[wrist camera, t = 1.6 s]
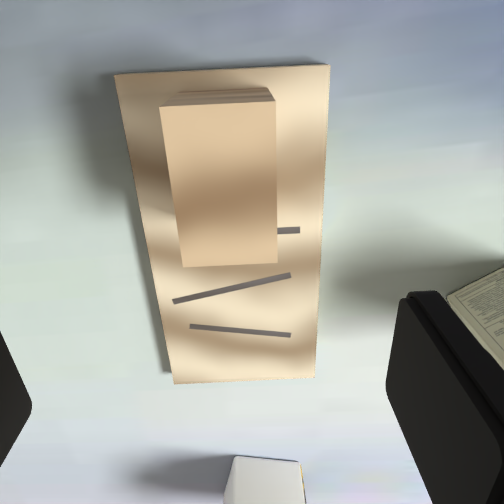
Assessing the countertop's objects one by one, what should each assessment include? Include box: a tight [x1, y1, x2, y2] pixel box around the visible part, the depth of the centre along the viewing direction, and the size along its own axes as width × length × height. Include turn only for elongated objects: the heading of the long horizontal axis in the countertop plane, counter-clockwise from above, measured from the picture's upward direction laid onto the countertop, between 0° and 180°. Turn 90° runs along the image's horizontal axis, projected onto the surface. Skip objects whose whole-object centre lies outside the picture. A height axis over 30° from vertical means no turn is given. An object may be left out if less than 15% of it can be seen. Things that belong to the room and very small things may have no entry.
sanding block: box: [159, 88, 278, 267], centre depth 21 cm, size 8×5×6 cm, turn 2°
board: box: [114, 64, 330, 384], centre depth 27 cm, size 24×12×1 cm, turn 2°
